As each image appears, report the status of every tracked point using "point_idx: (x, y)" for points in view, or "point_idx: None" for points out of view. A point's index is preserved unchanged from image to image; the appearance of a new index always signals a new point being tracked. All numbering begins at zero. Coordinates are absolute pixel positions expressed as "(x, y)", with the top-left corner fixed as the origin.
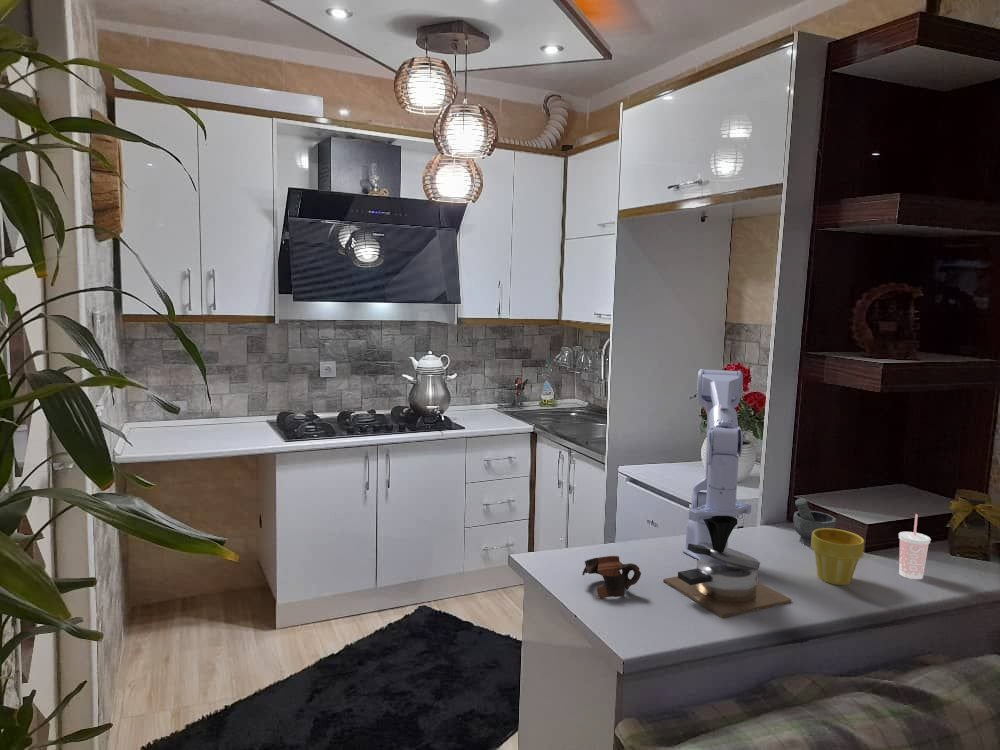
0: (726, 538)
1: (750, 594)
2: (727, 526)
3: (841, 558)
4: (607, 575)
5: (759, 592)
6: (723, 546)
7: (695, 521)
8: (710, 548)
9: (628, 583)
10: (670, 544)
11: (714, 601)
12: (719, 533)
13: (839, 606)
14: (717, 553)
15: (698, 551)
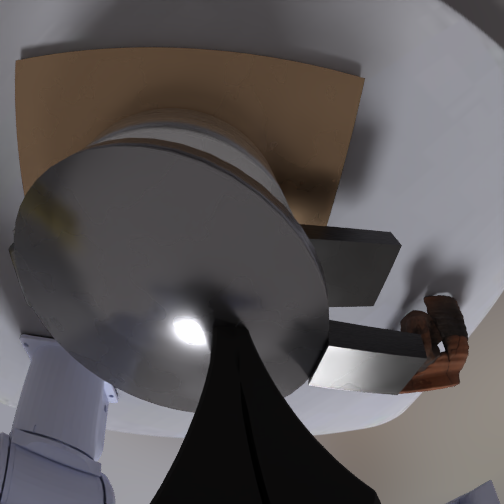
0: (224, 400)
1: (152, 113)
2: (274, 500)
3: None
4: (466, 339)
5: (74, 145)
6: (233, 353)
7: (490, 482)
8: None
9: (427, 318)
10: (121, 418)
11: (297, 161)
12: (315, 440)
13: None
14: (305, 313)
15: (406, 341)
